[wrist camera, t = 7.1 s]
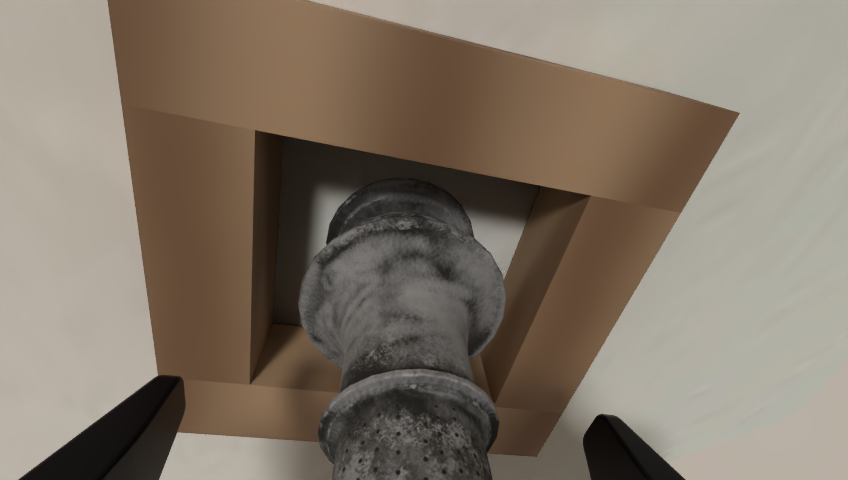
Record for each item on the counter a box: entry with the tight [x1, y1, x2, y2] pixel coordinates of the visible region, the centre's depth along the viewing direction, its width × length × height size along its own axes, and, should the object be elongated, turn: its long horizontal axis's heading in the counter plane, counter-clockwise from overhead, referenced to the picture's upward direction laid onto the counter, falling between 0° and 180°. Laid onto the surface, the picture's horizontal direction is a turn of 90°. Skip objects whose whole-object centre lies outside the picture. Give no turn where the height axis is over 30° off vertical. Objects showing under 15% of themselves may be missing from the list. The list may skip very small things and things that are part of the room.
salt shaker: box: [298, 179, 506, 480], centre depth 9 cm, size 6×6×12 cm
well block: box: [108, 0, 740, 457], centre depth 13 cm, size 14×14×3 cm
